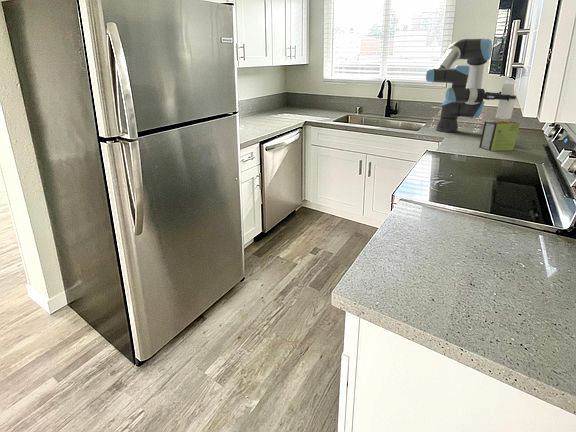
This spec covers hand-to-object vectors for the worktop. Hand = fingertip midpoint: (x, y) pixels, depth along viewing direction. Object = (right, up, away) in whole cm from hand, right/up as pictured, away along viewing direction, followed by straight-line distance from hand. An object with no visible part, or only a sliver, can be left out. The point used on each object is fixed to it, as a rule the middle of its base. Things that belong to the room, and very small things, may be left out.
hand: (517, 96), depth 207 cm
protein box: (-5, -27, +12) cm, 30 cm away
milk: (-5, -11, +5) cm, 13 cm away
